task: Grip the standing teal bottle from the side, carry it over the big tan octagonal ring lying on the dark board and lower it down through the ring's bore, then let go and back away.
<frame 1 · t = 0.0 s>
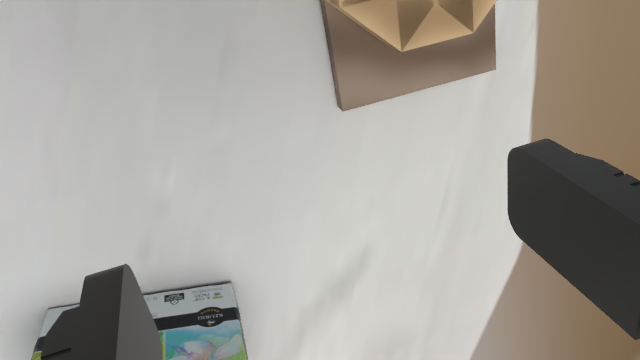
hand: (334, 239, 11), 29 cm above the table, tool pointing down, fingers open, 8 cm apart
tea box: (149, 334, 47), on the table
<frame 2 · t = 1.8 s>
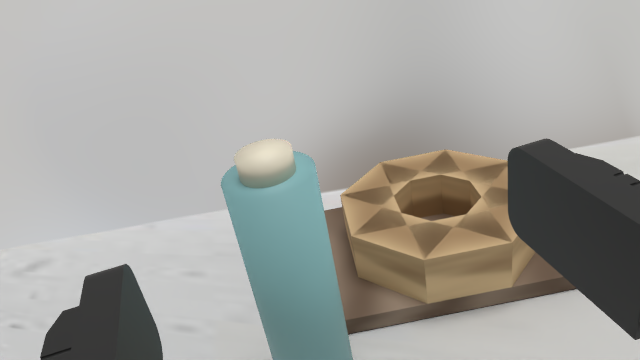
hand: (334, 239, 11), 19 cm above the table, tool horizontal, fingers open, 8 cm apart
board: (440, 249, 40), on the table
tan octagonal ring: (439, 236, 39), resting on board
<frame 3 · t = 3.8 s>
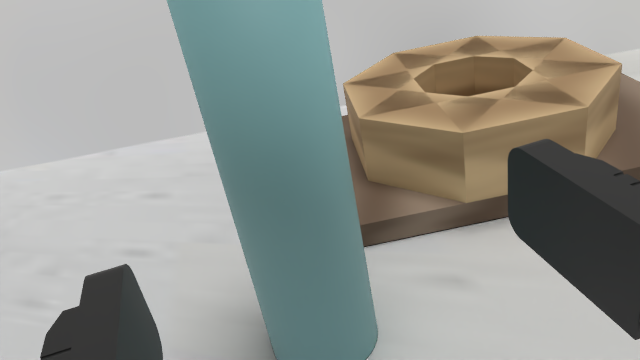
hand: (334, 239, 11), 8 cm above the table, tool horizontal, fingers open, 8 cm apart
teal bottle: (325, 335, 20), on the table
board: (474, 153, 30), on the table
tan octagonal ring: (473, 134, 30), resting on board
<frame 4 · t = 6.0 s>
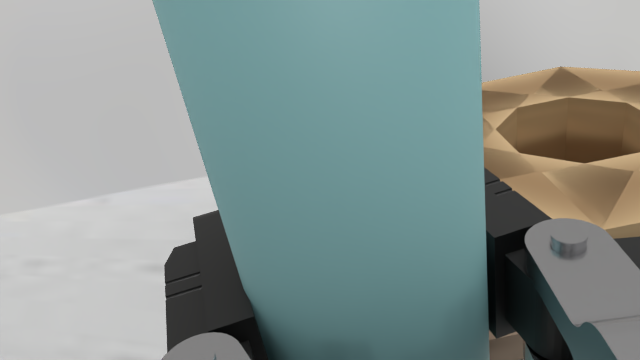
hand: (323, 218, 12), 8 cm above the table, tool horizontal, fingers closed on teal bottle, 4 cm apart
board: (569, 223, 24), on the table
tan octagonal ring: (570, 200, 23), resting on board
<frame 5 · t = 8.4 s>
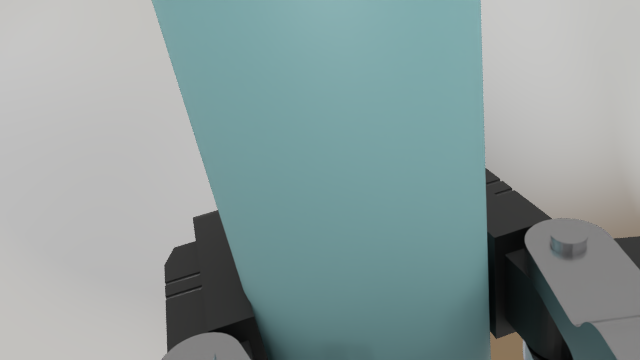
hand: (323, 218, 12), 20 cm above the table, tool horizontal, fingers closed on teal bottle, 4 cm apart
when the fingers open (10 cm above the table, at t = 11.2 s): teal bottle stays where it is, resting on board.
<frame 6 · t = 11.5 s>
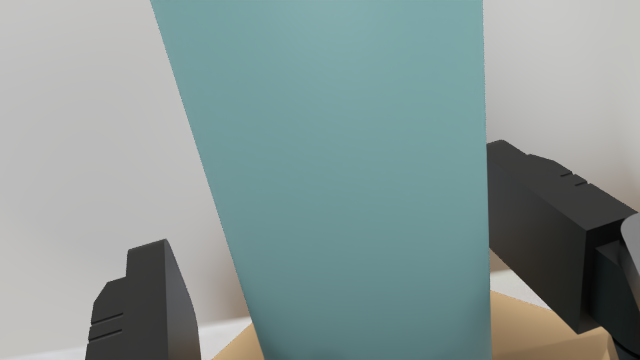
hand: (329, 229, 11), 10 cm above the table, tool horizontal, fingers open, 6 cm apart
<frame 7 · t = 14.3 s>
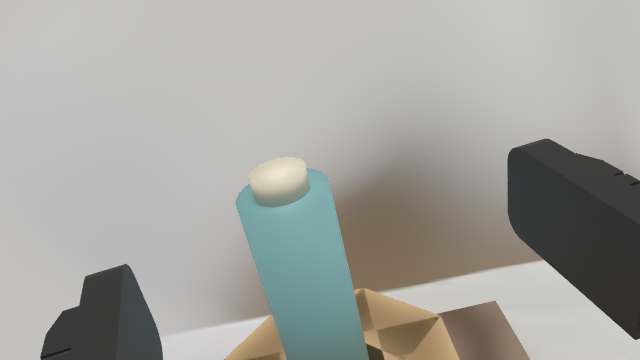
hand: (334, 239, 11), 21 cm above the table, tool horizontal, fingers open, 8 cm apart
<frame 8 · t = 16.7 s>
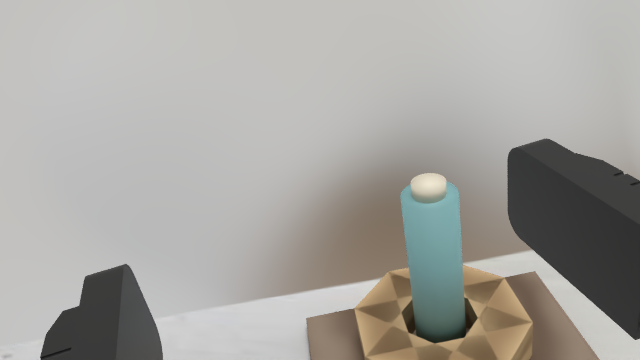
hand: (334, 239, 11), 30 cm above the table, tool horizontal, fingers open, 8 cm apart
teal bottle: (442, 346, 45), point 1 cm above the table, touching board
board: (442, 356, 45), on the table
tan octagonal ring: (441, 346, 45), resting on board
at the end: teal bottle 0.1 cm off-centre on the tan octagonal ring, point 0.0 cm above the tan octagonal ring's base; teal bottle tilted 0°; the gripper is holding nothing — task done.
